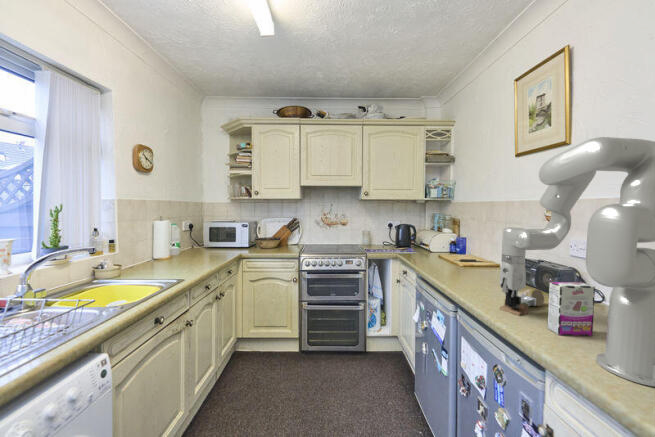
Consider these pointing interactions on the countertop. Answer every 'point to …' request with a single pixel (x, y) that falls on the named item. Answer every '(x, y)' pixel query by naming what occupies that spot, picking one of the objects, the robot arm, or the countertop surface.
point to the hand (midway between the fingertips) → (510, 305)
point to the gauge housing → (521, 311)
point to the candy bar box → (571, 308)
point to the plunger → (525, 300)
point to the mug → (534, 295)
